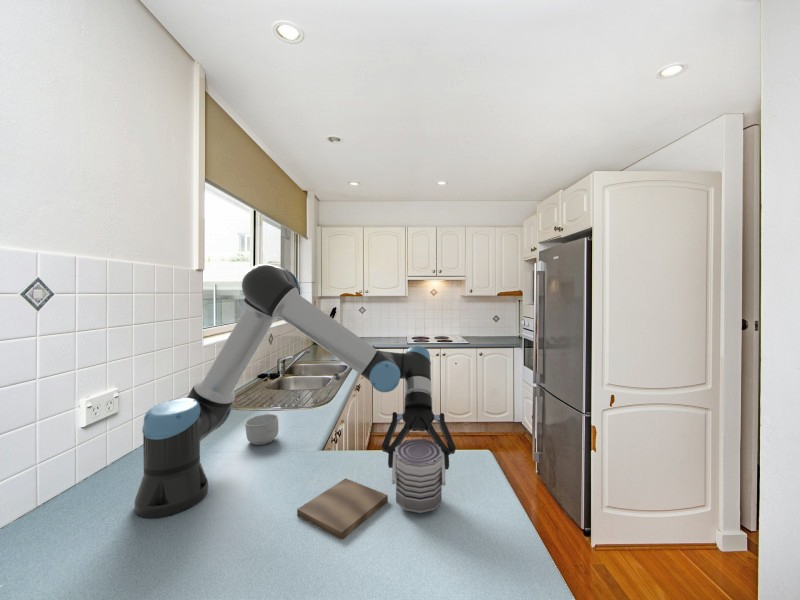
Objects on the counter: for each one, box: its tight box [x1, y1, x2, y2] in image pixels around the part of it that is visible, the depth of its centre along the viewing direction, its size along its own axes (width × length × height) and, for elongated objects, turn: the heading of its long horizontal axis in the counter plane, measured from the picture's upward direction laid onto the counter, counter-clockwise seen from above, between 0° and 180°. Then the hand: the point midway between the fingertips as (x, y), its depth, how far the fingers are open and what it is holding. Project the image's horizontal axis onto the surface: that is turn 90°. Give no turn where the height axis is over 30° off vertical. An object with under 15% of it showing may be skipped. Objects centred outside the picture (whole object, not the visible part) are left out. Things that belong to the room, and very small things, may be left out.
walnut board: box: [296, 478, 389, 540], centre depth 80 cm, size 16×14×2 cm
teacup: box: [244, 412, 279, 446], centre depth 120 cm, size 14×11×8 cm
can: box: [395, 438, 443, 514], centre depth 81 cm, size 11×11×12 cm
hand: (418, 483), depth 79 cm, fingers closed on can, 11 cm apart
